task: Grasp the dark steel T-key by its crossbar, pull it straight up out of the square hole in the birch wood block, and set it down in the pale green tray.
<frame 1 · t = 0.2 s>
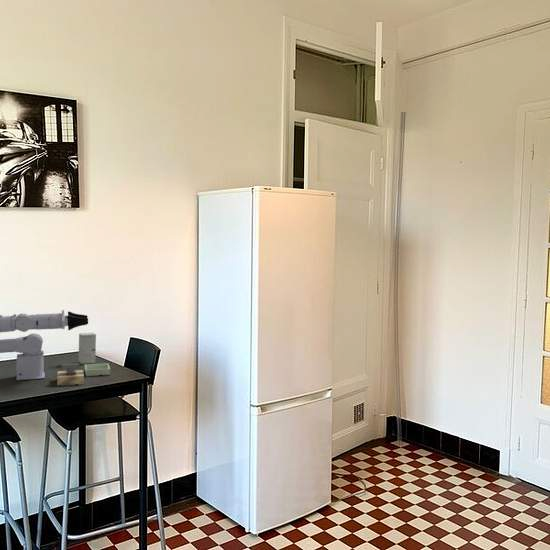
hand: (87, 319, 224), 21 cm above the table, tool horizontal, fingers open, 7 cm apart
tray: (97, 372, 228), on the table
t key: (70, 373, 214), in the key block
skincare box: (87, 362, 245), on the table
key block: (70, 381, 215), on the table
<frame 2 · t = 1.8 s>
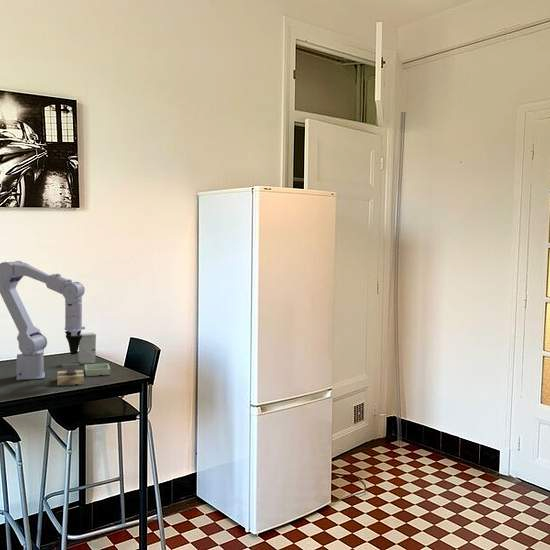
hand: (73, 352, 216), 10 cm above the table, tool pointing down, fingers open, 7 cm apart
nothing on the table moved.
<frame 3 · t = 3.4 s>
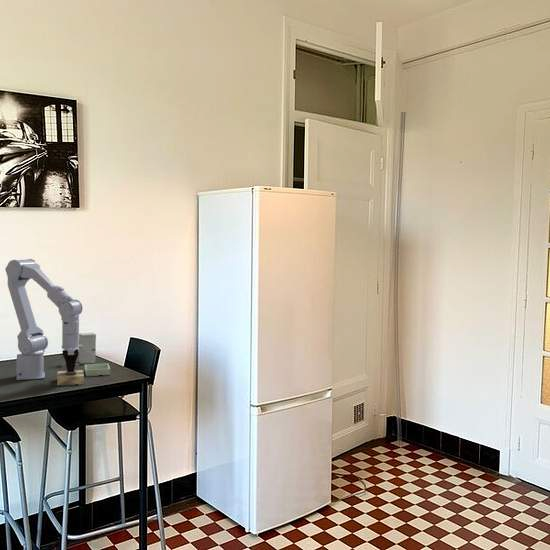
hand: (70, 370, 214), 4 cm above the table, tool pointing down, fingers closed on t key, 3 cm apart
t key: (70, 373, 214), in the key block, touching gripper
everything else where it was.
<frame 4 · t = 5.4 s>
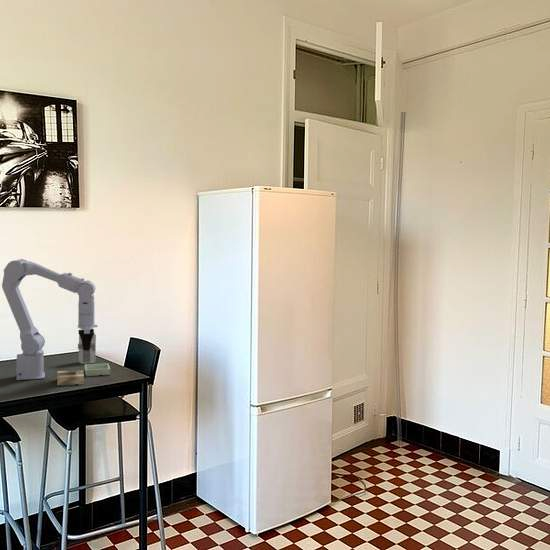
hand: (86, 349, 221), 10 cm above the table, tool pointing down, fingers closed on t key, 3 cm apart
t key: (86, 352, 221), point 9 cm above the table, touching gripper
everything else where it was.
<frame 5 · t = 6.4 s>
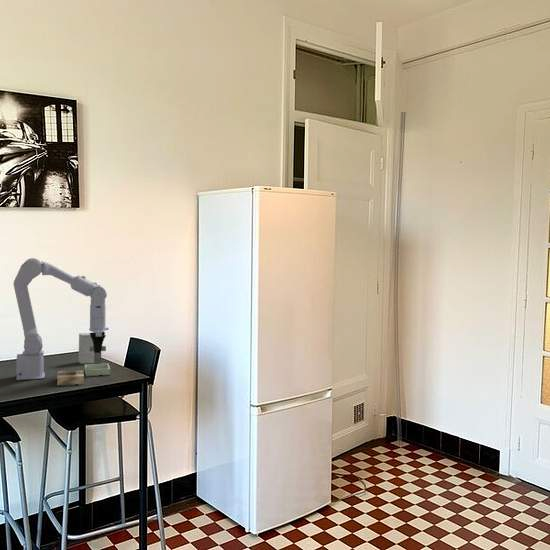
hand: (97, 351, 228), 8 cm above the table, tool pointing down, fingers closed on t key, 3 cm apart
t key: (97, 355, 228), point 7 cm above the table, touching gripper
everything else where it was.
when the fingers open (6 cm above the table, at t = 7.3 s): t key stays where it is, resting on tray.
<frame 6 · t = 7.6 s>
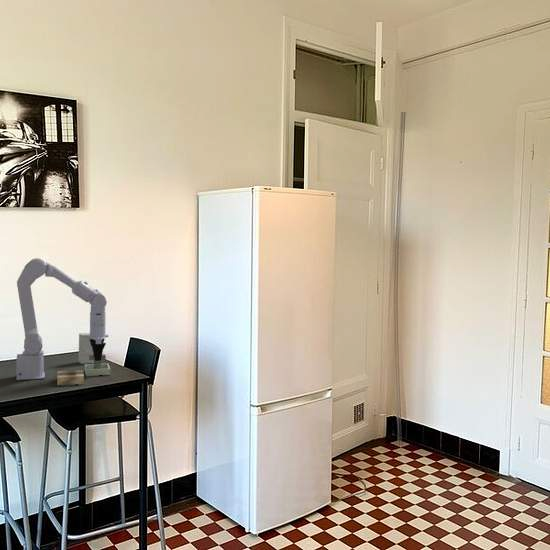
hand: (97, 358, 228), 6 cm above the table, tool pointing down, fingers open, 5 cm apart
t key: (97, 363, 228), in the tray
everything else where it was.
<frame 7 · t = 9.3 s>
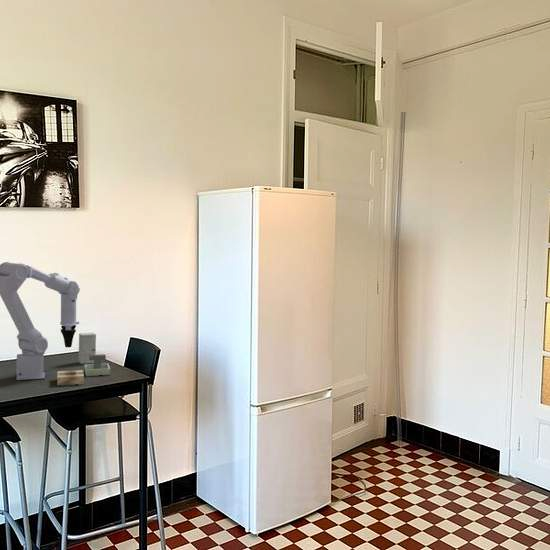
hand: (68, 345, 232), 10 cm above the table, tool pointing down, fingers open, 7 cm apart
nothing on the table moved.
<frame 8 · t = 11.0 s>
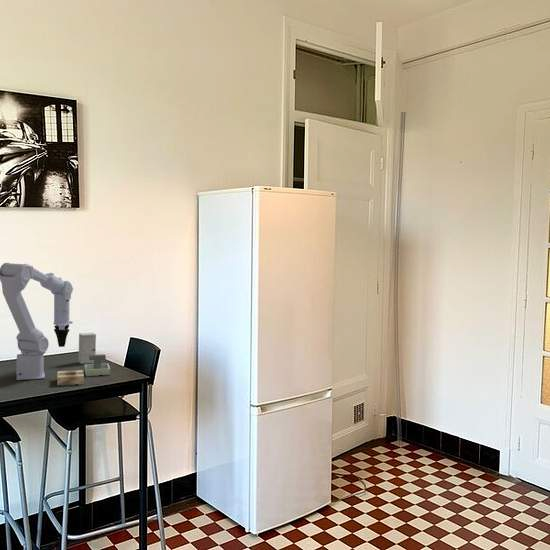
hand: (61, 344, 233), 9 cm above the table, tool pointing down, fingers open, 7 cm apart
nothing on the table moved.
at the end: t key 0.0 cm off-centre on the tray, point 3.6 cm above the tray's base; the gripper is holding nothing; t key moved 14.9 cm from its start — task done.
